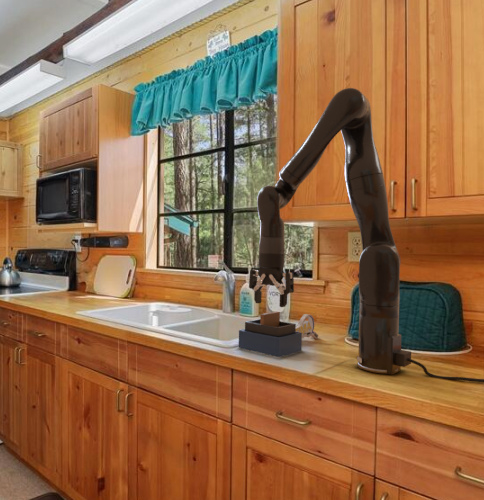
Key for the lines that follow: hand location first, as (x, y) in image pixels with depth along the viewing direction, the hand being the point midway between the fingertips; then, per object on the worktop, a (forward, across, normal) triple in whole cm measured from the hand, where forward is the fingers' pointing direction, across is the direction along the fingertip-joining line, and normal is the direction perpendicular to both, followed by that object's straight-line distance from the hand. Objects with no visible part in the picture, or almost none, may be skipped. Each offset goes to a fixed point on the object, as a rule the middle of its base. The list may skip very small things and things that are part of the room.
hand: (270, 304), depth 133 cm
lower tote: (+14, 0, 0) cm, 14 cm away
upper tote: (+14, 0, 0) cm, 14 cm away
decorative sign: (+14, 0, +19) cm, 24 cm away
